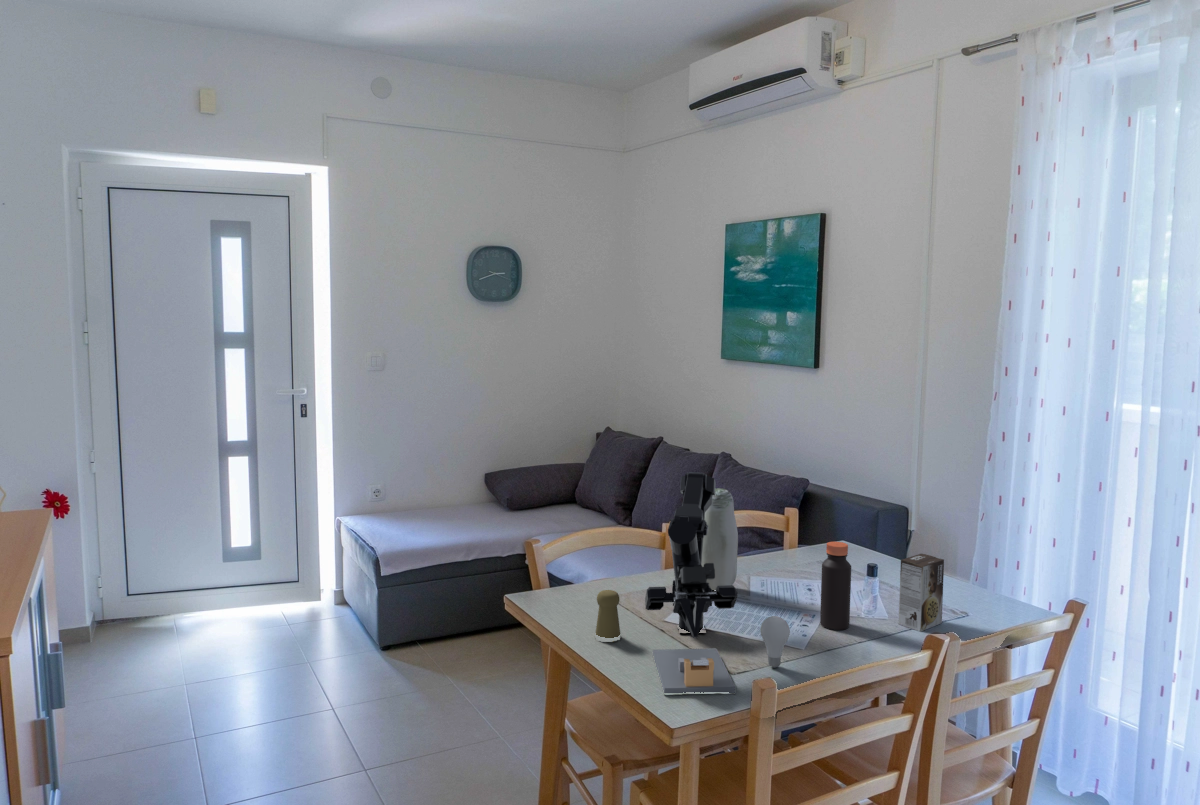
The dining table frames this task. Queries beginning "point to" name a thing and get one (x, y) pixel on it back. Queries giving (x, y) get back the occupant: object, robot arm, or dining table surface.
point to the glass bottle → (721, 539)
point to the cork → (608, 614)
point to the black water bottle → (835, 587)
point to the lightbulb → (774, 638)
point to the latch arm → (699, 662)
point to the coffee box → (921, 592)
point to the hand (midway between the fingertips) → (695, 636)
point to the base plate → (678, 677)
